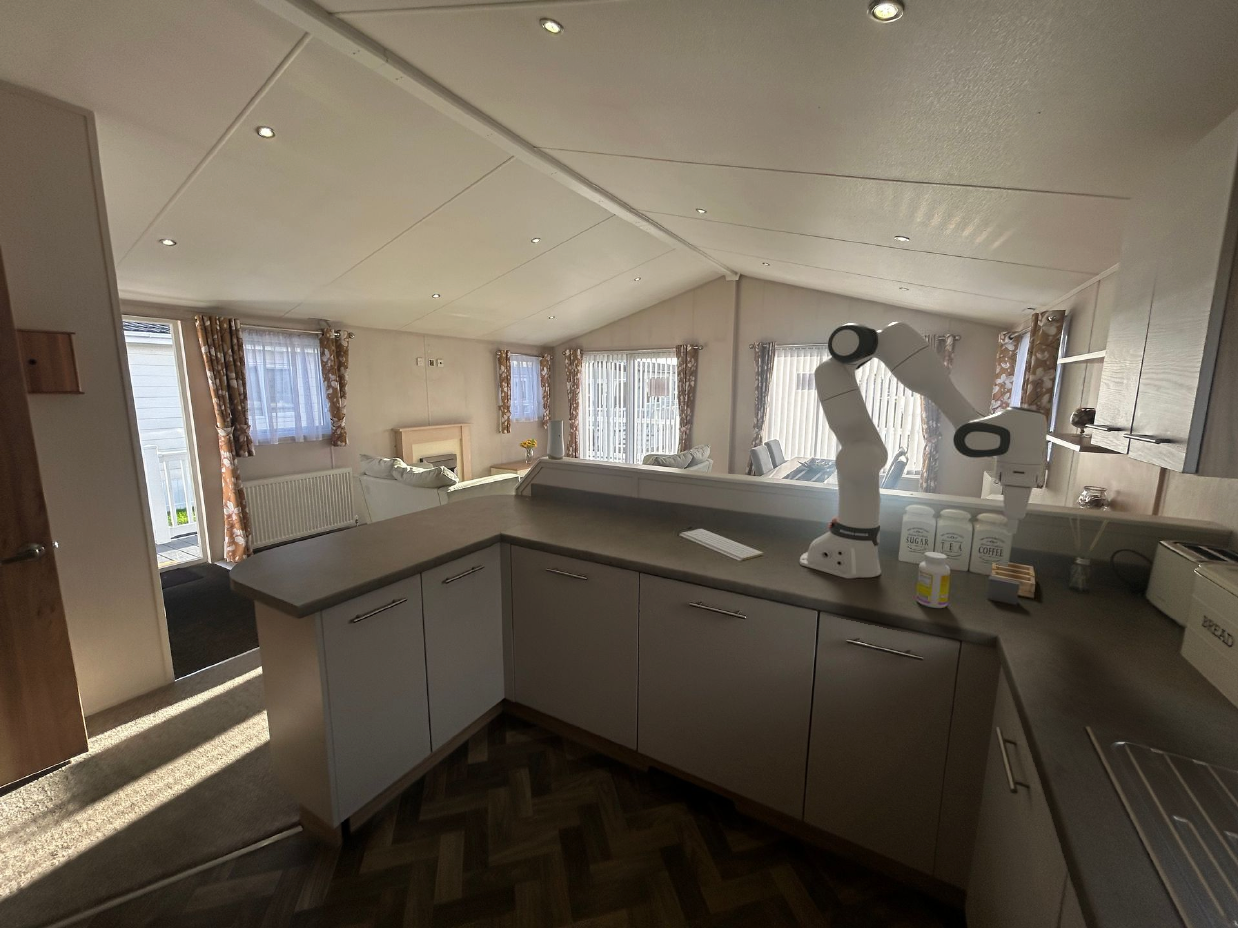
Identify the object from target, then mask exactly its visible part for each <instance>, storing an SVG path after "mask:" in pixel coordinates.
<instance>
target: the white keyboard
mask: <svg viewBox="0 0 1238 928" xmlns="http://www.w3.org/2000/svg"><path fill="white" fill-rule="evenodd" d="M696 528H697V529H694V527H692V526H691V527H687V530H688V531H685V532H683V530H680V532H681V531H682V532H681V533H677V536H680V537H682V538H685V539H686V540H689V541H691V542H694V543H695V544H697V545H700V546H703V547H705V548H708V549H710V550H712V551H715V552H716V553H719V554H721V555H724V556H726V557H729V558H730V559H733V560H735V561H737V562H742V561H745V560H749V559H752V558H757V557H760V556H763V555H764V552H762V551H760V550H757V549H754V548H752V547H750V546H747V545H745V544H742V543H739V542H736V541H734V540H732V539H729V538H726V537H724V536H721V535H719V534H716V533H714V532H711V531H708V530H706V529H703V528H699V526H698V527H697V526H696ZM691 529H692V530H691ZM693 529H694V530H693Z"/></svg>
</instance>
